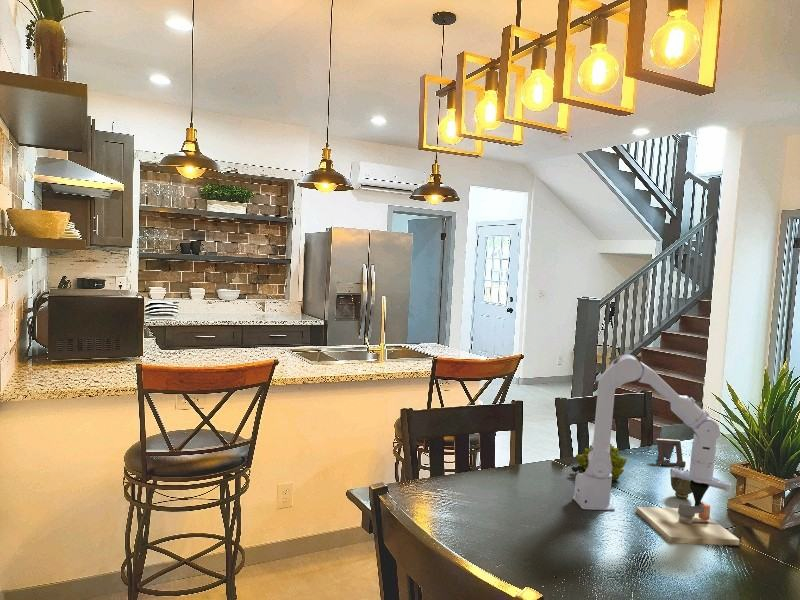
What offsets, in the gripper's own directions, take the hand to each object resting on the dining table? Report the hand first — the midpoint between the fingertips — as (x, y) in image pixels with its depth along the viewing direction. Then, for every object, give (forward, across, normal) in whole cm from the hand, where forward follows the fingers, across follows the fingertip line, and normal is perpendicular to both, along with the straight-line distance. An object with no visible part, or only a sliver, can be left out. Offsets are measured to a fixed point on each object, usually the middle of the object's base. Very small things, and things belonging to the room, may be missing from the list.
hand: (697, 509), depth 157 cm
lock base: (+4, -1, -7) cm, 8 cm away
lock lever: (+1, 0, -4) cm, 4 cm away
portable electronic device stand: (+4, -20, +48) cm, 53 cm away
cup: (+4, -8, +16) cm, 18 cm away
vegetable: (+4, -32, +14) cm, 35 cm away
